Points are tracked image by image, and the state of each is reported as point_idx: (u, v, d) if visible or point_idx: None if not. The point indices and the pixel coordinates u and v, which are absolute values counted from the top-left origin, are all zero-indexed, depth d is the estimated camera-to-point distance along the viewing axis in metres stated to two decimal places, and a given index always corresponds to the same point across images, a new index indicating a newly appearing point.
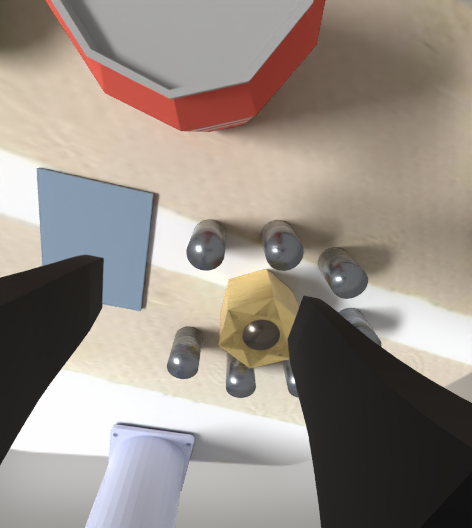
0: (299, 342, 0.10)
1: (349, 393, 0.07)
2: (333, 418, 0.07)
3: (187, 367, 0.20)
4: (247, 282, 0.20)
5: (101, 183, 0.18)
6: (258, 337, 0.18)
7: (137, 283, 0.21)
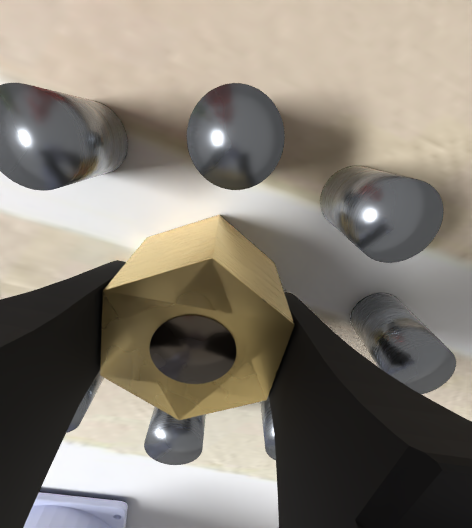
0: None
1: (307, 386, 0.06)
2: (293, 412, 0.07)
3: None
4: (174, 238, 0.09)
5: None
6: (187, 354, 0.08)
7: None
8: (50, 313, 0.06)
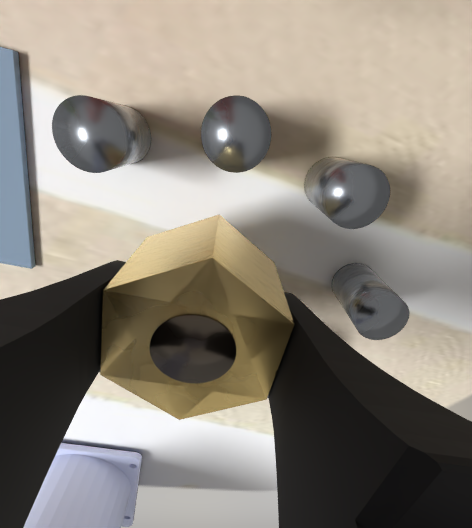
0: None
1: (307, 386, 0.06)
2: (293, 412, 0.07)
3: None
4: (174, 238, 0.09)
5: None
6: (187, 354, 0.08)
7: (18, 221, 0.13)
8: (50, 314, 0.06)
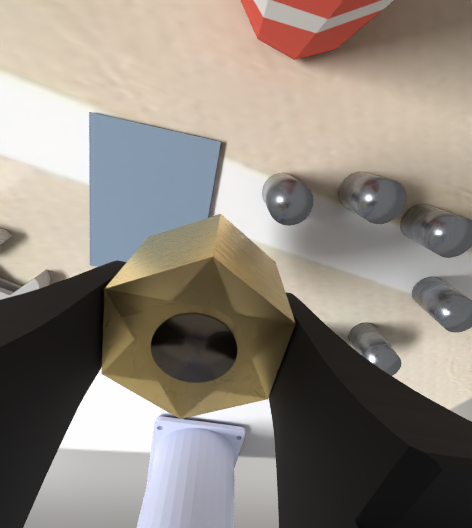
0: None
1: (307, 386, 0.06)
2: (293, 412, 0.07)
3: None
4: (176, 237, 0.09)
5: (162, 129, 0.15)
6: (188, 353, 0.08)
7: None
8: (50, 314, 0.06)
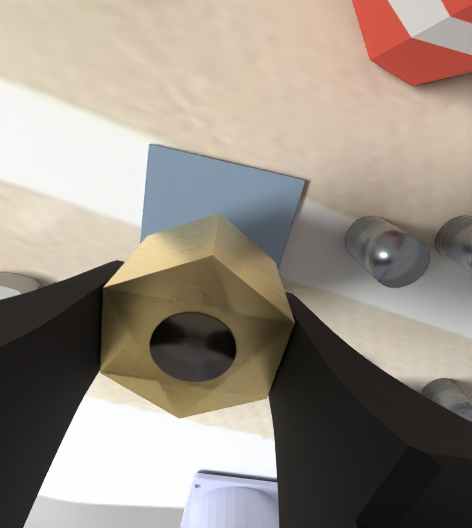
0: None
1: (307, 386, 0.06)
2: (293, 412, 0.07)
3: None
4: (175, 236, 0.09)
5: (236, 165, 0.13)
6: (187, 352, 0.08)
7: None
8: (49, 314, 0.06)
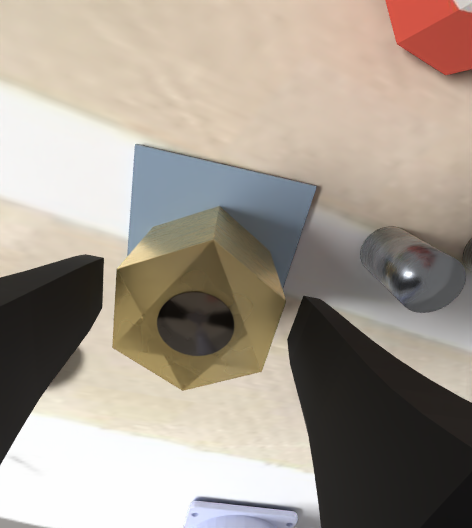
0: (299, 342, 0.10)
1: (349, 393, 0.07)
2: (333, 418, 0.07)
3: None
4: (178, 226, 0.10)
5: (237, 169, 0.11)
6: (190, 328, 0.09)
7: None
8: None
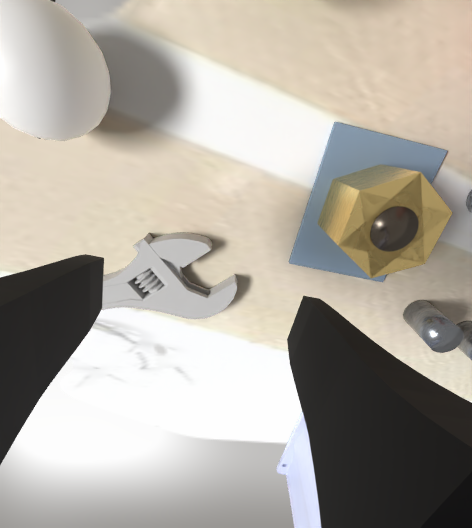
0: (299, 342, 0.10)
1: (349, 393, 0.07)
2: (333, 418, 0.07)
3: (451, 339, 0.19)
4: (364, 174, 0.16)
5: (397, 138, 0.16)
6: (390, 232, 0.15)
7: None
8: None
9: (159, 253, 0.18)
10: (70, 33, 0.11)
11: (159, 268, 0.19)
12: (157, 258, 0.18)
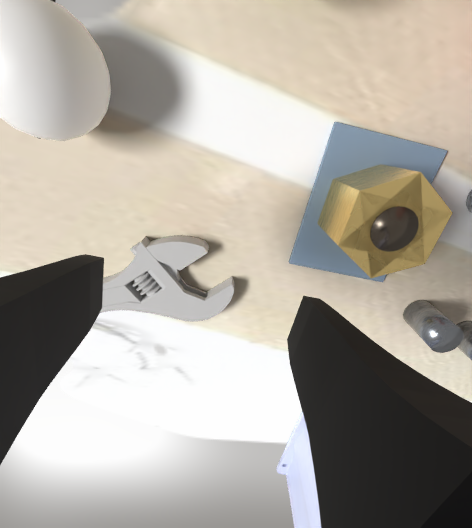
0: (299, 342, 0.10)
1: (349, 393, 0.07)
2: (333, 418, 0.07)
3: (451, 339, 0.19)
4: (364, 174, 0.16)
5: (397, 138, 0.16)
6: (390, 232, 0.15)
7: None
8: None
9: (156, 256, 0.18)
10: (70, 32, 0.11)
11: (156, 270, 0.19)
12: (154, 261, 0.19)
